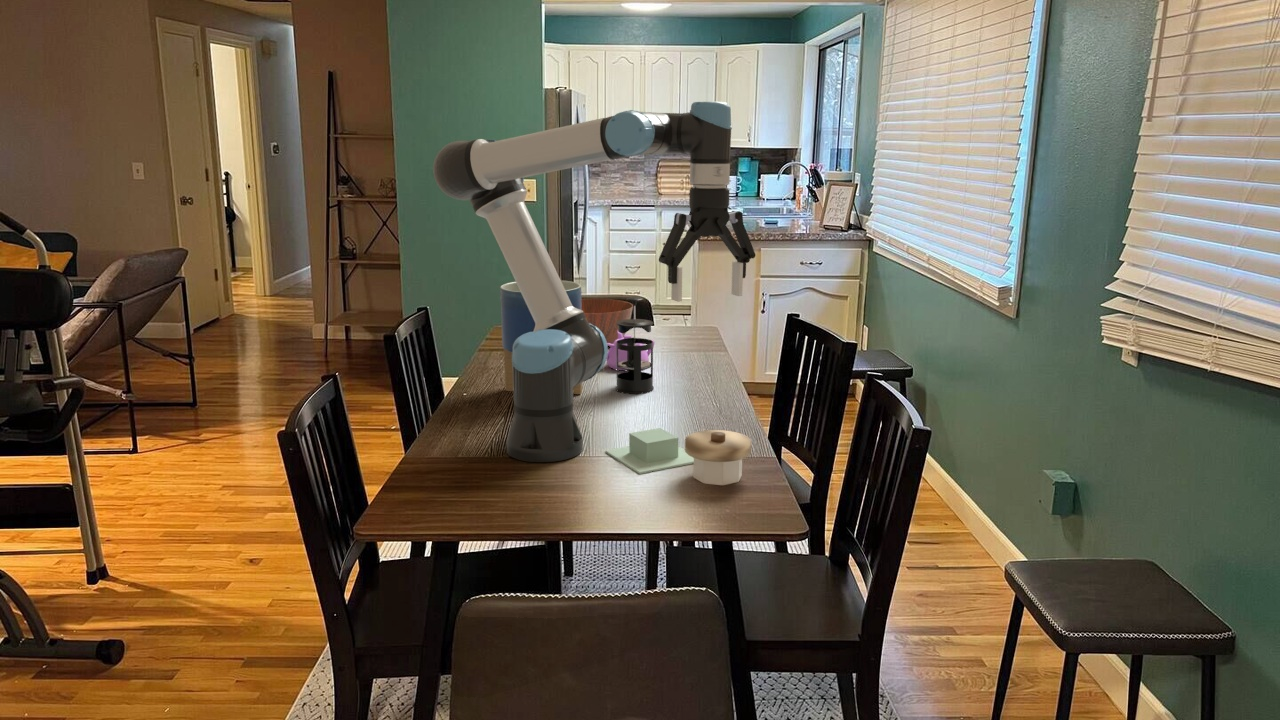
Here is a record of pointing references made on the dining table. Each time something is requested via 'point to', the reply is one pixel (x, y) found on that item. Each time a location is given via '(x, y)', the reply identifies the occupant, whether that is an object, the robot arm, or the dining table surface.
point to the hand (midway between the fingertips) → (707, 297)
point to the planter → (524, 322)
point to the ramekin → (717, 472)
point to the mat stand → (651, 451)
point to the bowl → (606, 315)
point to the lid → (718, 446)
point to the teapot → (623, 352)
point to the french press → (634, 356)
